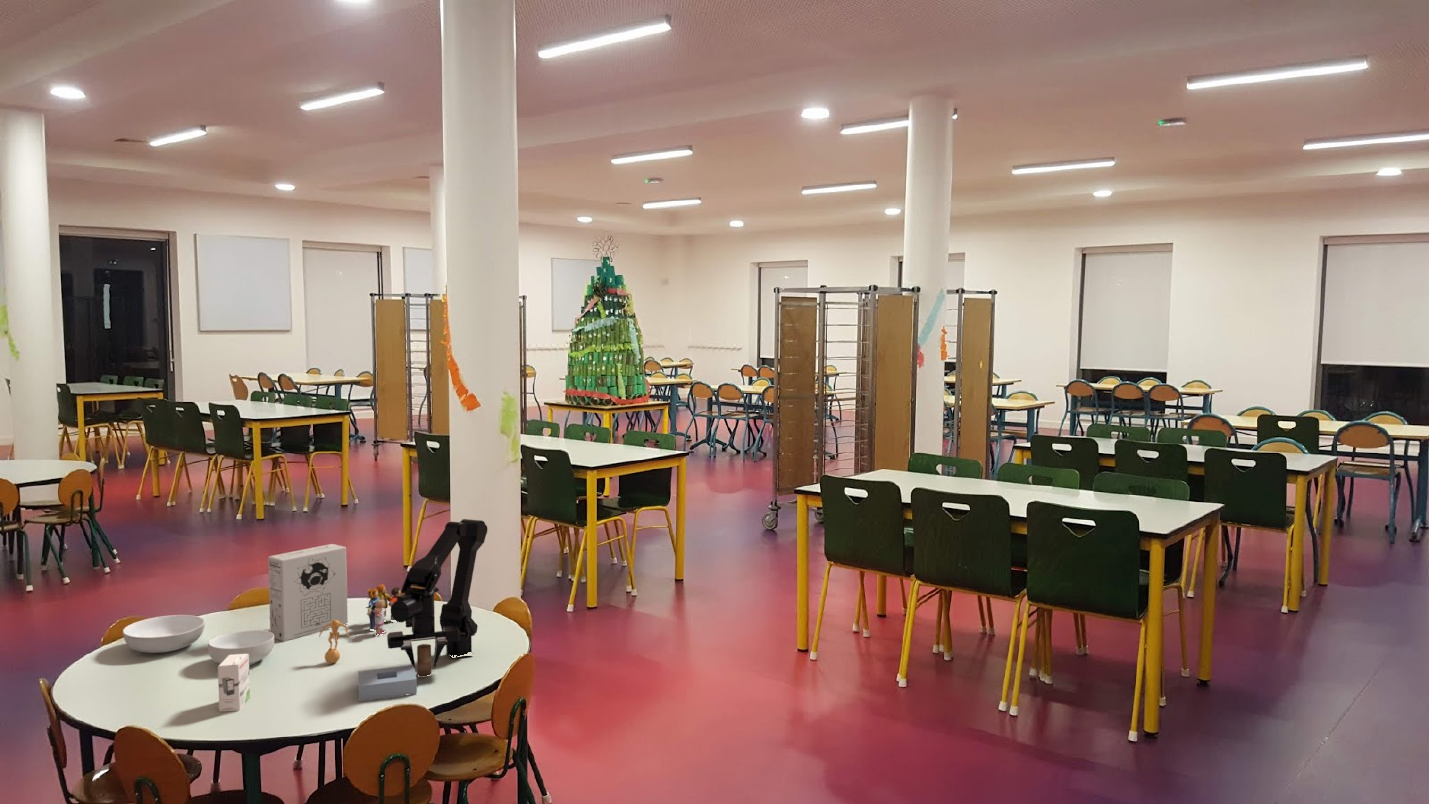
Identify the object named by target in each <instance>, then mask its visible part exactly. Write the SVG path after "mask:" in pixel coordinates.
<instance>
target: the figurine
mask: <svg viewBox="0 0 1429 804" xmlns="http://www.w3.org/2000/svg"><path fill="white" fill-rule="evenodd" d="M328 626H331V630H332V631H330V632H329V636H328V643H329V644H330V646H329V648H328V650H327V651H326V652H325V653H324V660H325V662H326V663H328V664H335V663H337V662H338V661H339V660H340V657H341V653H340V651H339V650H337V647H338V643H339V642H338V640H339V638H340V637H339V636H340V632H339V631H338V630H339V627H343V628H344V629H345V633H346V637H347V638H349V635H350V634H349V631H348V626H347V624H346V625H344V624H342V623H340V622H339V621H338V620H335V619H334V620H333V621H332V622H331V623H329V624H327V625H325V626H324V628H323V629H322V631H320V632H319V634H318V635H319V638H320V637H321V635H322V633H324V631H325V630H324V629H325V627H328ZM333 638H334V643H335V646H334V648H332V647H333V641H332V640H333Z"/></svg>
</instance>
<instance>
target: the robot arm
mask: <svg viewBox="0 0 1429 804" xmlns="http://www.w3.org/2000/svg"><path fill="white" fill-rule="evenodd" d="M487 534H488V525H486V522H485V521H484V520H479V519H478V520H477V519H468V518H467V519H466V518H462V519H461V520H460V521H447V523H446V524H445V526H444V530H443V531H442V533H441V534H440V535H439V537H438V538H437V540H436V541H435V542H434V544H433V545H432V546H431V549H430V550H429V551H428V552H427V554H426V555H425V556H424V557H422V558H420V559H418V560H417V561H416V562H415V563H414V564H413V565H412V566H411V567H410V568H409V570H408V571H407V574H406V577H405V580H404V583H403V585H402V587H401V588H400V591H401V593H400V596H398V597H397V601H396V602H394V603H393V605H392V607H391V606H390V616H391V615H392V617H393V618H394V620H396V621H397V623H404V622H405V628H411V633H409V634H403V631H402V630H401V631H392V632H390V631H389V633H388V634H387V635H386V638H387V639H386V640H387V641H386V643H387V648H388V649H391V650H392V649H399V648H400V650H401V651H405V653H406V655H407V657H408V659H409V661H410V664H411V665H414V670H415V669H416V662H415V657H414V650H413V645H412V642H418V641H427V640H434V652H433V668H436V667H437V665H438V661H439V659H440V656H441V653H442V651H443V649H444V647H445V649H446V651H445V652H446V655H447V656H448V658H449V657H450V658H452V657H451V656H452V655H453V657H454V655H457V656H460V655H464V654H467V653H468V652H472V651H473V650H472V648H473V647H472V645H473V644H472V643H473V642H472V637H474V636H475V635H476V634H477V631H478V628H479V627H478V624H477V623H476V622H475V620H474V619H473V618H472V615H473V610H472V607H471V605H470V603H469V598H470V592H471V585H472V580H473V575H474V570H475V563H476V559H477V553H478V550H479V549H480V548H481V547H482V546H483V545H484V543H485V540H486V536H487ZM456 545H458V547H459V552H458V556H457V562H456V569H455V573H454V578H453V585H452V589H451V596H450V599H449V600H448V601H447V603H443V604H442V605H441V612H440V615H439V624H440V628H441V630H439V631H438V630H437V631H435V630H436V629H435V628H436V626H435V623H436V622H435V621H436V620H435V618H436V617H435V593H438V592H439V591H440V590H439V588H438V587H437V586H436V585H437V584H438V581H439V580H440V577H441V575H442V567H443V564H444V563H445V561H446V560H447V558H448V557H449V556H450V554H451V552H452V551H453V549H454V548H455V546H456ZM472 653H473V652H472ZM449 655H451V656H449ZM457 656H456V657H457ZM450 658H449V659H450ZM452 659H453V658H452Z"/></svg>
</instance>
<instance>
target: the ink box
mask: <svg viewBox="0 0 1429 804" xmlns="http://www.w3.org/2000/svg"><path fill="white" fill-rule="evenodd" d="M217 676H218V677H217V679H218V682H217V683H218V709H219V712H237V711H238V712H239V711H241V709H242V708H243V707H244V706H245V705H246V703H248V700H249V699H250V697H251V695H250V692H251V691H250V666H249V654H235V655H229V656H228V657H227V658H226V659H225V660H224V661H223V662H222V663H221V664H220V663H219V665H218V666H217Z"/></svg>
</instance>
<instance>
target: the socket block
mask: <svg viewBox="0 0 1429 804" xmlns="http://www.w3.org/2000/svg"><path fill="white" fill-rule="evenodd" d="M416 674H417V673H416V670H415V669H414V665H412V664H411V665H410V664H409V665H401V666H392V667H383V668H375V669H366V670H359V671H357V686H358V687H357V689H358V699H359V700H358V701H359V702H365V701H366V702H367V701H373V700H382V699H389V698H390V699H391V698H396V696H398V697H402V696H401V695H406V694H414V695H417V694H416V693H418V687H417V686H418V685H417V684H418V683H417V682H418V681H417V675H416ZM406 696H407V695H406Z"/></svg>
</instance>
